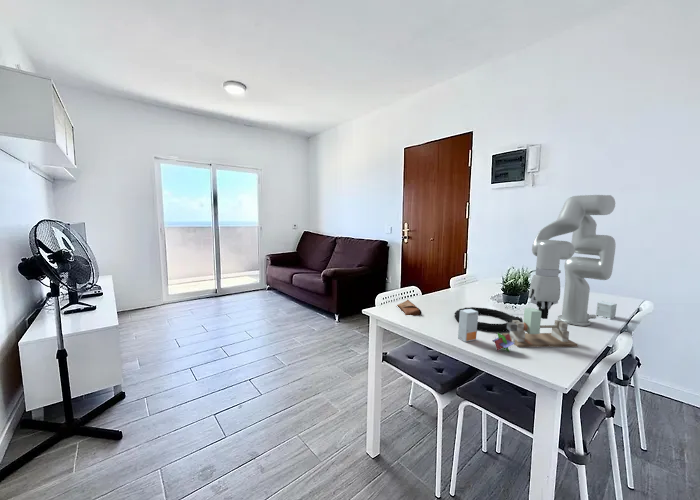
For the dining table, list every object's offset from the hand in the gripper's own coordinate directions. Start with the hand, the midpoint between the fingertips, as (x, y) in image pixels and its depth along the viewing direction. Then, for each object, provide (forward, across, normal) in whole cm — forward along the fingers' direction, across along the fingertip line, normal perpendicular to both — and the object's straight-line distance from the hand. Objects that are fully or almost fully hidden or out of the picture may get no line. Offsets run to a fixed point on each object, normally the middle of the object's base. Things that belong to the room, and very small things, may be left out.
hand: (542, 317), depth 118 cm
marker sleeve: (+6, +4, 0) cm, 7 cm away
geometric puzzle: (+10, +20, +8) cm, 24 cm away
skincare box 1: (+10, +30, -2) cm, 31 cm away
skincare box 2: (+10, -56, -29) cm, 64 cm away
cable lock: (+10, +10, -22) cm, 27 cm away
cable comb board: (+10, +1, 0) cm, 10 cm away
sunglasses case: (+10, +44, -40) cm, 61 cm away
